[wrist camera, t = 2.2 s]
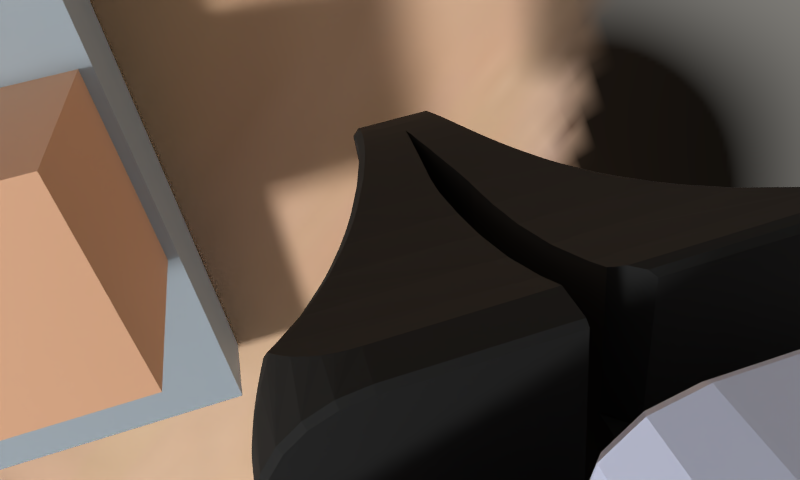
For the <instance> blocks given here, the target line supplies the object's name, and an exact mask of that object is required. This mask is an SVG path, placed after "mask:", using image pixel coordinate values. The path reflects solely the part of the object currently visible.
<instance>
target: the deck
mask: <svg viewBox="0 0 800 480" xmlns="http://www.w3.org/2000/svg"><path fill="white" fill-rule="evenodd" d="M77 69H78V70H79V72H80V74H81V76H82V78H83V80H84V83H85V85H86V87H87V89H88V91H89V93H90V95H91V97H92V100H93V102H94V104H95V106H96V108H97V110H98V112H99V114H100V117H101V119H102V121H103V123H104V125H105V127H106V129H107V131H108V134H109V136H110V138H111V140H112V142H113V144H114V146H115V149H116V151H117V153H118V155H119V157H120V159H121V161H122V163H123V166H124V168H125V170H126V172H127V174H128V176H129V178H130V180H131V183H132V185H133V187H134V189H135V191H136V193H137V195H138V197H139V200H140V202H141V204H142V206H143V208H144V210H145V212H146V214H147V217H148V219H149V221H150V223H151V225H152V227H153V229H154V231H155V234H156V236H157V238H158V240H159V242H160V244H161V246H162V248H163V251H164V253H165V255H166V257H167V259H168V272H167V294H166V315H165V337H164V359H163V380H162V392H160V393H157V394H154V395H150V396H147V397H144V398H140V399H137V400H134V401H130V402H127V403H124V404H121V405H117V406H114V407H111V408H107V409H104V410H101V411H97V412H94V413H91V414H87V415H84V416H81V417H77V418H74V419H71V420H67V421H64V422H61V423H58V424H54V425H51V426H48V427H44V428H41V429H38V430H34V431H31V432H28V433H24V434H21V435H18V436H14V437H11V438H8V439H5V440H1V441H0V470H1V469H4V468H7V467H11V466H14V465H17V464H20V463H24V462H27V461H30V460H33V459H37V458H40V457H43V456H46V455H50V454H53V453H56V452H59V451H63V450H66V449H69V448H72V447H76V446H79V445H82V444H85V443H89V442H92V441H95V440H99V439H102V438H105V437H108V436H112V435H115V434H118V433H121V432H125V431H128V430H131V429H134V428H138V427H141V426H144V425H147V424H151V423H154V422H157V421H160V420H164V419H167V418H170V417H173V416H177V415H180V414H183V413H186V412H190V411H193V410H196V409H200V408H203V407H206V406H209V405H213V404H216V403H219V402H222V401H226V400H229V399H232V398H235V397H239V396H242V386H241V375H240V363H239V352H238V344H237V341H236V339H235V337H234V334H233V332H232V330H231V327H230V325H229V323H228V321H227V318H226V316H225V314H224V311H223V309H222V307H221V304H220V302H219V300H218V297H217V295H216V293H215V290H214V288H213V286H212V283H211V281H210V279H209V276H208V274H207V272H206V269H205V267H204V265H203V262H202V260H201V258H200V255H199V253H198V251H197V249H196V246H195V244H194V242H193V239H192V237H191V235H190V232H189V230H188V228H187V225H186V223H185V221H184V218H183V216H182V214H181V211H180V209H179V207H178V204H177V202H176V200H175V197H174V195H173V193H172V190H171V188H170V186H169V184H168V181H167V179H166V177H165V174H164V172H163V170H162V167H161V165H160V163H159V160H158V158H157V156H156V153H155V151H154V149H153V146H152V144H151V142H150V139H149V137H148V135H147V132H146V130H145V128H144V125H143V123H142V121H141V118H140V116H139V114H138V112H137V109H136V107H135V105H134V102H133V100H132V98H131V95H130V93H129V91H128V88H127V86H126V84H125V81H124V79H123V77H122V74H121V72H120V70H119V67H118V65H117V63H116V60H115V58H114V56H113V53H112V51H111V49H110V47H109V44H108V42H107V40H106V37H105V35H104V33H103V30H102V28H101V26H100V23H99V21H98V19H97V16H96V14H95V12H94V9H93V7H92V5H91V2H90V0H0V88H1V87H5V86H10V85H14V84H18V83H22V82H26V81H30V80H35V79H39V78H43V77H47V76H51V75H56V74H60V73H64V72H68V71H72V70H77Z"/></svg>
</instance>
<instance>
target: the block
mask: <svg viewBox="0 0 800 480" xmlns="http://www.w3.org/2000/svg"><path fill="white" fill-rule="evenodd" d="M167 272H168V259H167V257H166V255H165V253H164V251H163V248H162V246H161V244H160V242H159V240H158V238H157V236H156V234H155V231H154V229H153V227H152V225H151V223H150V221H149V219H148V217H147V214H146V212H145V210H144V208H143V206H142V204H141V202H140V200H139V197H138V195H137V193H136V191H135V189H134V187H133V185H132V183H131V180H130V178H129V176H128V174H127V172H126V170H125V168H124V166H123V163H122V161H121V159H120V157H119V155H118V153H117V151H116V149H115V146H114V144H113V142H112V140H111V138H110V136H109V134H108V131H107V129H106V127H105V125H104V123H103V121H102V119H101V117H100V114H99V112H98V110H97V108H96V106H95V104H94V102H93V100H92V97H91V95H90V93H89V91H88V89H87V87H86V85H85V83H84V80H83V78H82V76H81V74H80V72H79V70H78V69H77V70H72V71H68V72H64V73H60V74H56V75H51V76H47V77H43V78H39V79H35V80H30V81H26V82H22V83H18V84H14V85H10V86H5V87H1V88H0V441H1V440H5V439H8V438H11V437H14V436H18V435H21V434H24V433H28V432H31V431H34V430H38V429H41V428H44V427H48V426H51V425H54V424H58V423H61V422H64V421H67V420H71V419H74V418H77V417H81V416H84V415H87V414H91V413H94V412H97V411H101V410H104V409H107V408H111V407H114V406H117V405H121V404H124V403H127V402H130V401H134V400H137V399H140V398H144V397H147V396H150V395H154V394H157V393H160V392H162V380H163V359H164V337H165V315H166V294H167Z"/></svg>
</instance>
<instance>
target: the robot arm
mask: <svg viewBox="0 0 800 480" xmlns="http://www.w3.org/2000/svg"><path fill="white" fill-rule="evenodd" d="M354 141H355V145H356V150H357V154H358V159H359V169H358V181H357V188H356V193H355V198H354V203H353V207H352V212H351V216H350V219H349V223H348V226H347V229H346V232H345V235H344V237H343V240H342V243H341V245H340V248H339V250H338V252H337V254H336V256H335V259H334V261H333V263H332V265H331V267H330V269H329V271H328V273H327V275H326V277H325V279H324V280H323V282H322V284H321V285H320V287H319V288H318V290H317V292H316V293H315V295H314V296H313V298H312V299H311V301H310V302H309V304H308V305H307V307H306V308H305V310H304V311H303V313H302V314H301V316H300V317H299V318H298V319H297V321H296V322H295V323H294V324H293V325H292V326H291V327H290V328H289V329H288V331H287V332H286V333H285V334H284V335H283V336H282V337H281V338H280V340H279V341H278V342H277V343H276V344H275V345H274V346H273V347H272V348H271V349H270V350H269V351H268V352H267V353H266V355H265V356H264V358H263V363H262V367H261V373H260V378H259V383H258V389H257V395H256V402H255V410H254V419H253V436H252V464H253V475H254V480H800V187H764V188H763V187H761V188H733V187H714V186H697V185H681V184H672V183H662V182H653V181H646V180H640V179H633V178H626V177H619V176H614V175H608V174H603V173H598V172H593V171H589V170H585V169H581V168H577V167H573V166H569V165H565V164H561V163H557V162H554V161H550V160H547V159H544V158H541V157H538V156H535V155H532V154H529V153H526V152H523V151H521V150H518V149H515V148H512V147H510V146H507V145H505V144H502V143H499V142H497V141H495V140H492V139H490V138H487V137H485V136H483V135H480V134H478V133H476V132H474V131H471V130H469V129H467V128H465V127H463V126H460V125H458V124H456V123H454V122H452V121H449V120H447V119H445V118H443V117H441V116H438V115H436V114H433V113H431V112H428V111H424V112H420V113H416V114H412V115H409V116H405V117H401V118H397V119H393V120H389V121H386V122H382V123H378V124H374V125H370V126H367V127H363V128H359V129H358V130H357V132H356V133H355V135H354Z"/></svg>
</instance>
